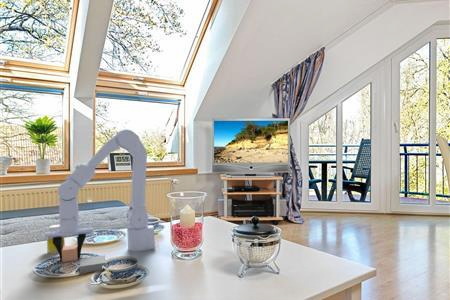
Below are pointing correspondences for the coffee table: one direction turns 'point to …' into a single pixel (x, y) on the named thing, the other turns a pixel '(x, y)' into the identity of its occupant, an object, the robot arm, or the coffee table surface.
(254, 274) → the coffee table surface
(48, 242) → the supplement bottle
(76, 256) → the terracotta block
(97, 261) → the gray slab
